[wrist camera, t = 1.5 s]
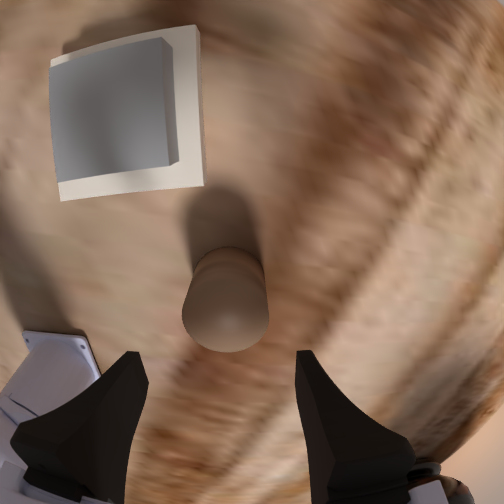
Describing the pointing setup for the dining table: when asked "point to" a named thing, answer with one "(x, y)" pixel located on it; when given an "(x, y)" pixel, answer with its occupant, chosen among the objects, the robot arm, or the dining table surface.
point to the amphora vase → (429, 472)
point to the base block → (187, 120)
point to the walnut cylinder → (226, 301)
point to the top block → (114, 111)
